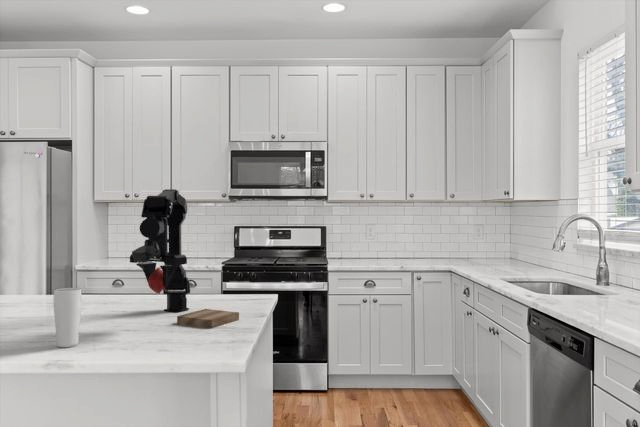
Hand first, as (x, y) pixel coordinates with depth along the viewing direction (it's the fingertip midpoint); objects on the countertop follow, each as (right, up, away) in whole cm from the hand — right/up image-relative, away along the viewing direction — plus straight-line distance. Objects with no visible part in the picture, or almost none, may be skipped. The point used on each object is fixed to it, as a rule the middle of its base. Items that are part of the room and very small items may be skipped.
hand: (158, 286), depth 158 cm
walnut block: (+14, -13, +9) cm, 21 cm away
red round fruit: (0, -2, 0) cm, 2 cm away
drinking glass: (-17, -13, -21) cm, 30 cm away
